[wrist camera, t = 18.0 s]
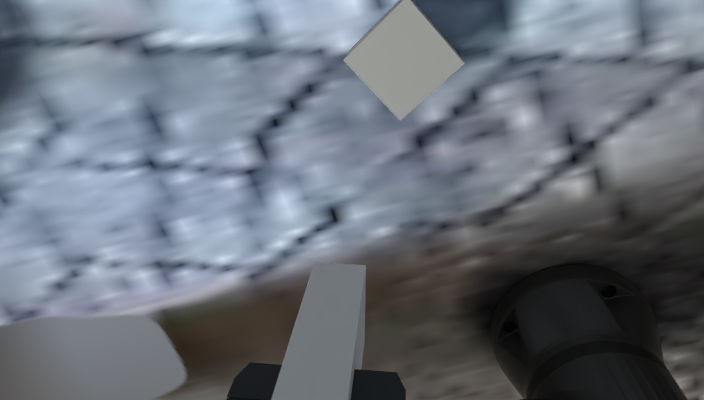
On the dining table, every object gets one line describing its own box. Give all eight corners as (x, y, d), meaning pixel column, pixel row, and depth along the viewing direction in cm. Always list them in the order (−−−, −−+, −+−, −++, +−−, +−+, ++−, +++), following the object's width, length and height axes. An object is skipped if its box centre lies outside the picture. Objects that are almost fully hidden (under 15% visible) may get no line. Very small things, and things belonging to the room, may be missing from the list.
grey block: (456, 51, 39) (464, 63, 34) (400, 101, 41) (400, 120, 36) (406, -8, 38) (407, -4, 32) (351, 48, 40) (343, 60, 35)
